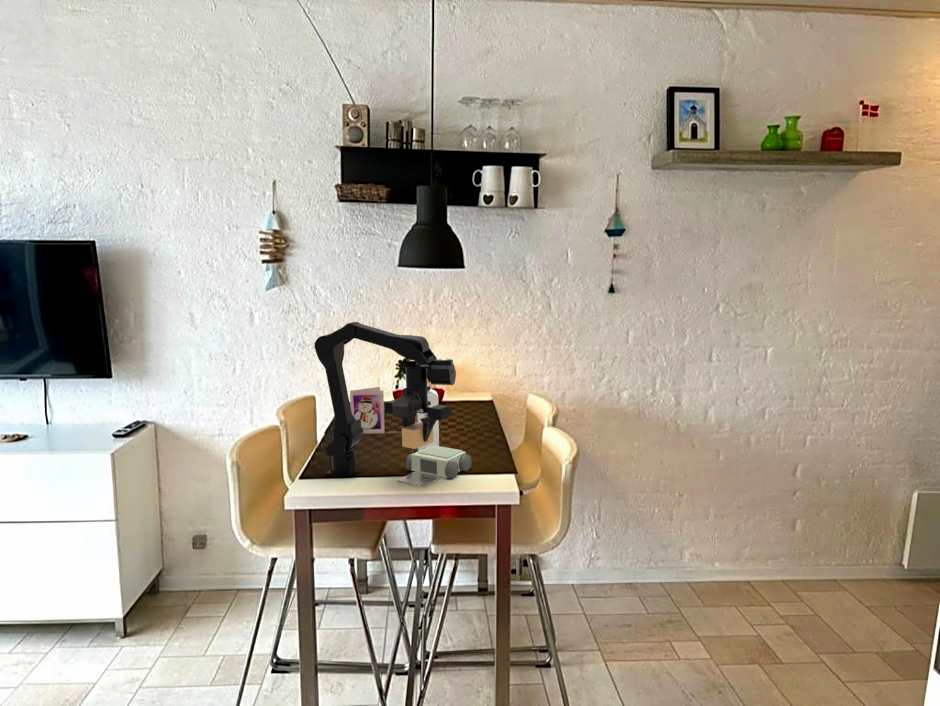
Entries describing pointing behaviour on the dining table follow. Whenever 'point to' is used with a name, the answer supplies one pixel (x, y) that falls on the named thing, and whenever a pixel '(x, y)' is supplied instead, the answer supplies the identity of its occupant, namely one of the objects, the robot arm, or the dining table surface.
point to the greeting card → (368, 409)
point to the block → (415, 436)
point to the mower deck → (439, 461)
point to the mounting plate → (419, 478)
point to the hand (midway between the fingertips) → (418, 440)
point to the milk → (434, 401)
